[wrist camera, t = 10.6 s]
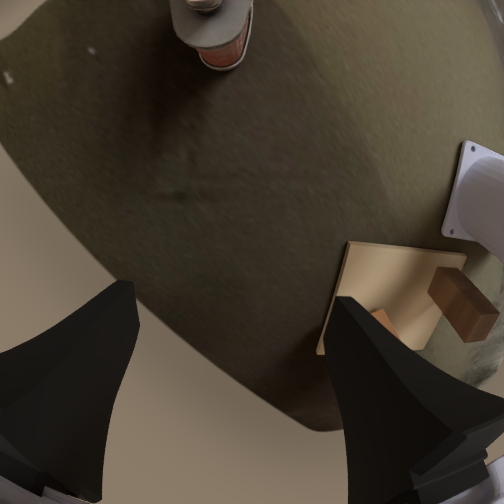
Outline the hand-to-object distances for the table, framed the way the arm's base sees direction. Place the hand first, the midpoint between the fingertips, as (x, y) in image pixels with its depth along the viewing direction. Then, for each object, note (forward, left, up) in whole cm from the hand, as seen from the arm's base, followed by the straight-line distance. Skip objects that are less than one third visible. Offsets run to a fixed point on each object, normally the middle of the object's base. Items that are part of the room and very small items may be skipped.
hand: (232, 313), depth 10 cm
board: (-14, +7, -10) cm, 19 cm away
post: (-18, +4, -10) cm, 21 cm away
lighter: (+2, -13, -11) cm, 17 cm away
